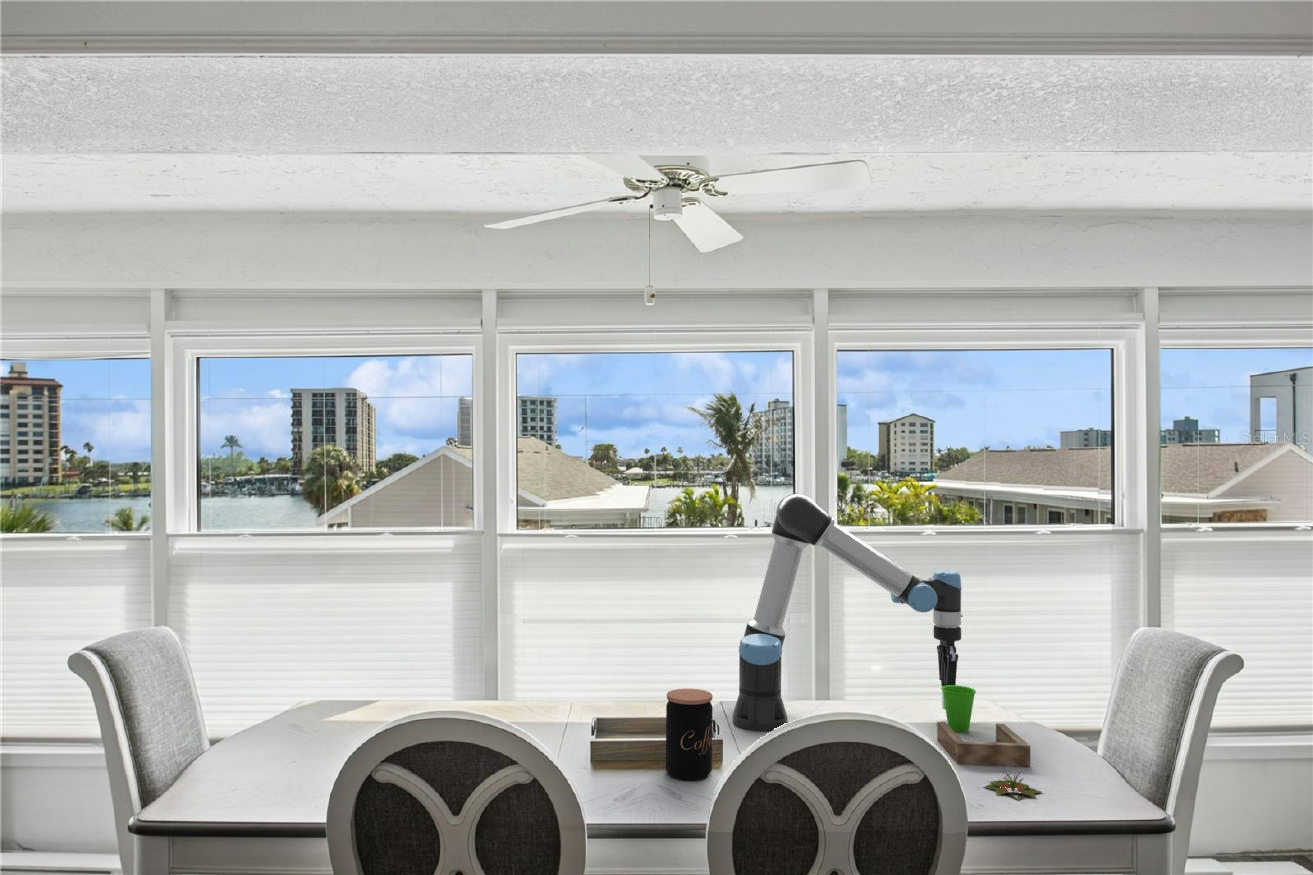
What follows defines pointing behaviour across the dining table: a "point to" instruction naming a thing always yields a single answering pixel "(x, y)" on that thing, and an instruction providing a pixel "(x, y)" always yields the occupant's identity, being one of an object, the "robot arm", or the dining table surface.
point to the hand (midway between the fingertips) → (947, 708)
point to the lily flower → (1012, 787)
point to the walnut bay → (985, 748)
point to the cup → (958, 706)
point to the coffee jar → (689, 734)
